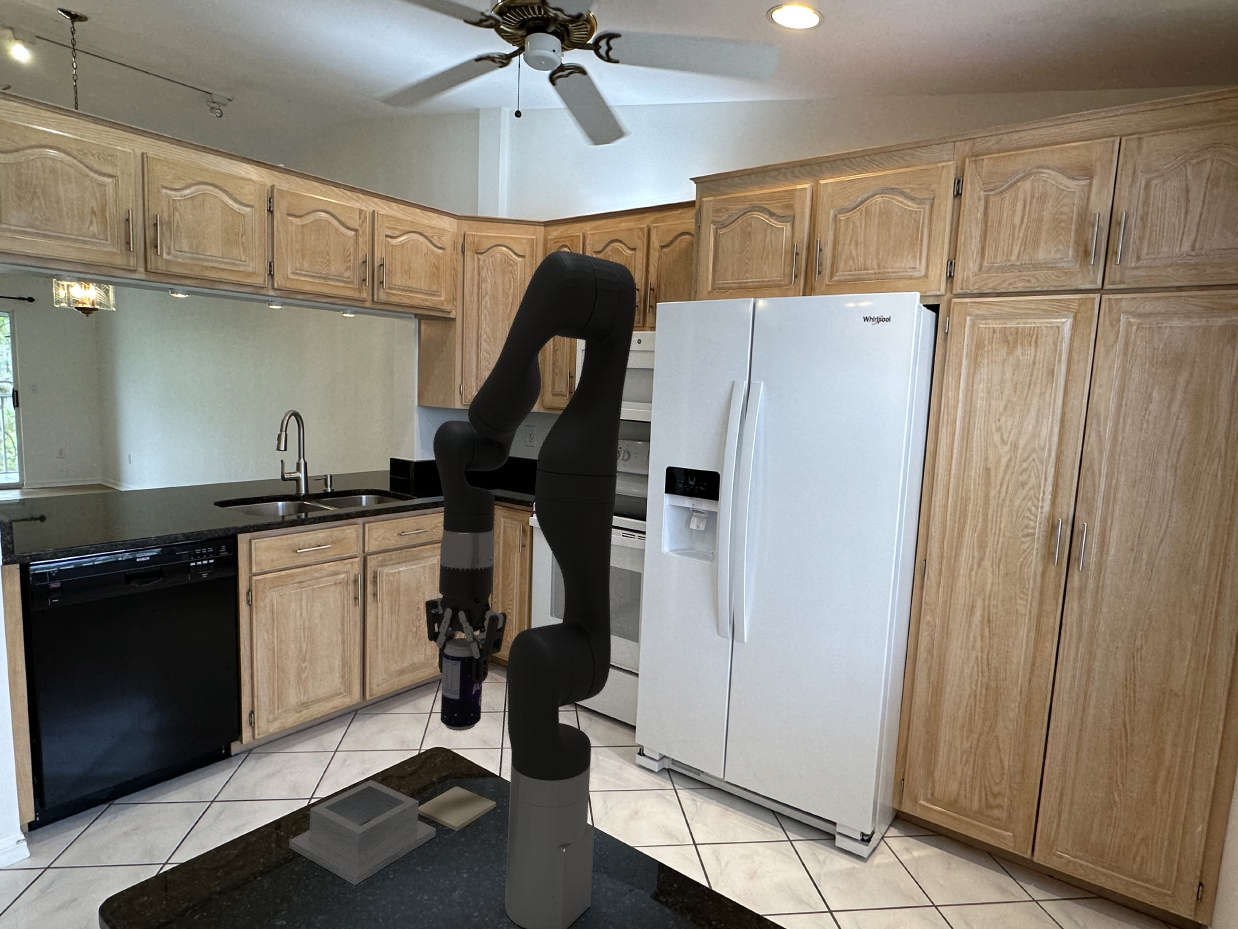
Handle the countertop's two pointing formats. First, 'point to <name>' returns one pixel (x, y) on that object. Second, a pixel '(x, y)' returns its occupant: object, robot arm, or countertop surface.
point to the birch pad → (456, 808)
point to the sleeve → (362, 831)
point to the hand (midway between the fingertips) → (462, 676)
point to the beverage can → (459, 687)
